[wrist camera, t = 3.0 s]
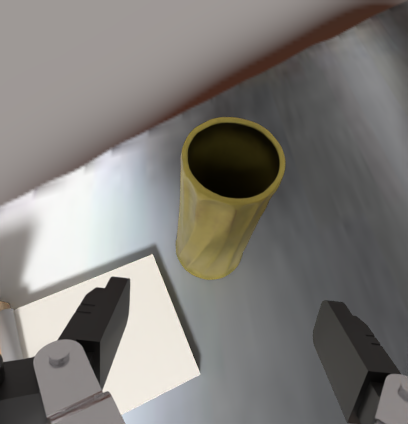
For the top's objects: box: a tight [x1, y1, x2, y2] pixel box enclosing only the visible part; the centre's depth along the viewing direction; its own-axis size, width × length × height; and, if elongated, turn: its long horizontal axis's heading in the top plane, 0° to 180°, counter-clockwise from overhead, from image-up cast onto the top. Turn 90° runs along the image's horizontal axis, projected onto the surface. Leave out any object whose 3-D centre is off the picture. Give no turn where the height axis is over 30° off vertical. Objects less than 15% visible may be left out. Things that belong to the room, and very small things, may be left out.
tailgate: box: [0, 254, 200, 415], centre depth 23 cm, size 12×10×2 cm
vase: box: [176, 117, 285, 280], centre depth 22 cm, size 6×6×14 cm
